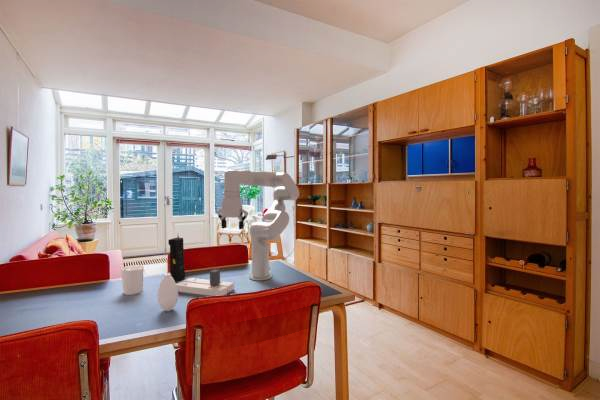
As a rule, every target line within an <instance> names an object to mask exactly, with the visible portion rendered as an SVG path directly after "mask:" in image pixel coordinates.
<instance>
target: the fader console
mask: <svg viewBox="0 0 600 400" xmlns="http://www.w3.org/2000/svg"><path fill="white" fill-rule="evenodd" d="M176 285H177V289H178V295H179V294H180V295H187V296H193V295H194V296H193V297H195V296H196V297H202V298H205V297H204V296H216V295H226V294H228V295H230V294H232V293H233V292H235V282H231V281H224V280H220V284H218V285H217V286H211V285H210V279H205V278H204V279H202V278H197V277H188V278H186V279H184V280H182V281H178V282H177V283H176ZM232 291H233V292H232Z"/></svg>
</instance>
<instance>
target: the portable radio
mask: <svg viewBox="0 0 600 400" xmlns="http://www.w3.org/2000/svg"><path fill="white" fill-rule="evenodd" d="M167 241H168V246H169V258H170V261H169V265H170V270H169V271H170V273H169V274H171V276H172V278H173V279H174V281H175V282H180V281H182V280H183V279H185V278H186V269H185V268H186V267H185V258H184V257H185V256H184V254H185V252H184V250H185V249H184V237H180V236H179V233H177V237H174V238H170V239H168V240H167Z"/></svg>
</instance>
